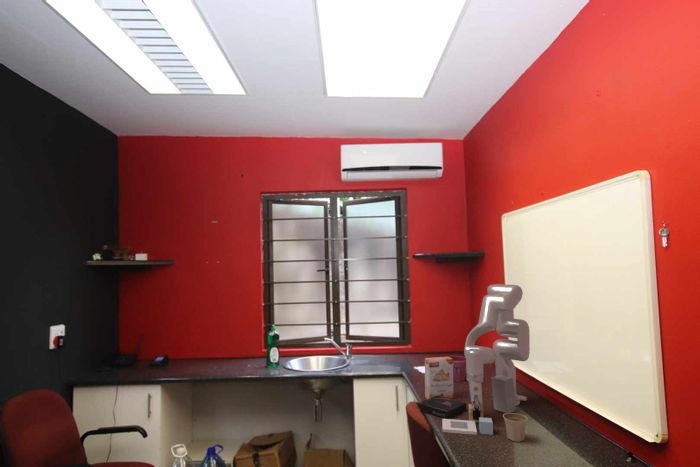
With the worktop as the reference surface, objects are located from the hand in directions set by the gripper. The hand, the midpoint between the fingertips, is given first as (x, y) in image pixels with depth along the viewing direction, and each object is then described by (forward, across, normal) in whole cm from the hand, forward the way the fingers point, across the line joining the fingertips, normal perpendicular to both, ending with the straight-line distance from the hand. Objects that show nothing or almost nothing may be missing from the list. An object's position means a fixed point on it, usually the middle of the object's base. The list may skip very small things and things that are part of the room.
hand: (475, 415), depth 189 cm
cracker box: (+2, +27, +16) cm, 32 cm away
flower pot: (+2, -18, -14) cm, 23 cm away
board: (+2, -11, +8) cm, 14 cm away
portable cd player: (+3, +9, +15) cm, 18 cm away
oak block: (+2, 0, 0) cm, 2 cm away
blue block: (+2, -13, -3) cm, 13 cm away
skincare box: (+2, +15, -14) cm, 21 cm away
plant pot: (+2, +65, +6) cm, 65 cm away
